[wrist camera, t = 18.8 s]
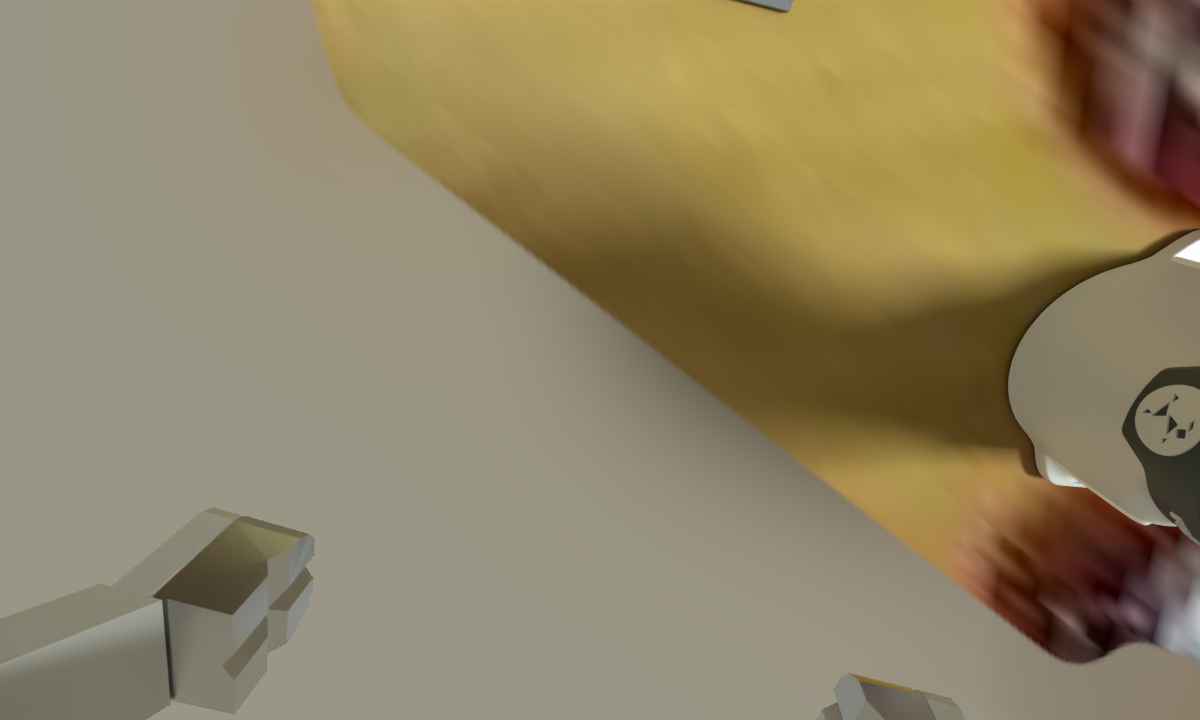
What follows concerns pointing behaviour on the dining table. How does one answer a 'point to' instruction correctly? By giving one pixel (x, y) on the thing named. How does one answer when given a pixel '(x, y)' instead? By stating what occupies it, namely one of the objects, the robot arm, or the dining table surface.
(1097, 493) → the robot arm
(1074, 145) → the dining table surface
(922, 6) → the dining table surface
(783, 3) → the socket dock
